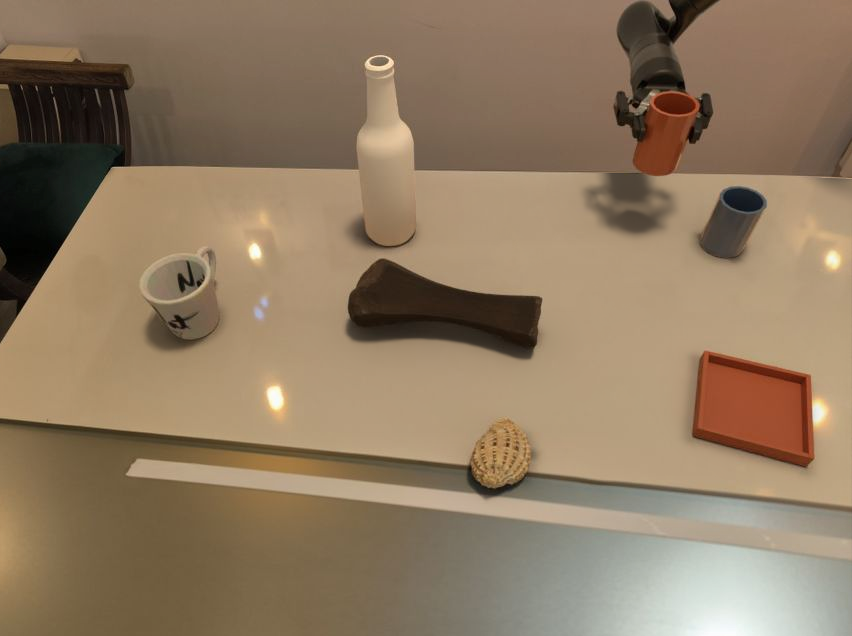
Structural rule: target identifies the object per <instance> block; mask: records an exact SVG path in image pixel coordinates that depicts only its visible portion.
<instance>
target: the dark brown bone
mask: <svg viewBox="0 0 852 636" xmlns="http://www.w3.org/2000/svg"><path fill="white" fill-rule="evenodd" d="M542 303H543V297H541V296H539V295H521V294H520V295H519V294H517V295H516V294H495V293H485V292H478V291H472V290H466V289H461V288H458V287H453V286H449V285H445V284H443V283H440V282H437V281H434V280H432V279H429V278H427V277H424V276H423V275H420V274H418V273H416V272H414V271H412V270H410V269H408V268H406V267H404V265H403V266H402V265H401V264H399V263H397V262H395V261H392V260H390V259H388V258H379V259H377V260H375V261H374V262H373V263H372V264H371V265H369V267H368V268H367V269H366V270H365V271H364V272H363V273H362V274H361V276H360V277H359V279H358V280H357V283H356V286H355V288H354V289H352V290H351V291H350V293H349V296H348V302H347V313H348V316H349V320H351V322H352V323H353V324H355V326H357V327H362V328H371V327H376V326H382V325H389V324H397V323H406V322H407V323H408V322H431V323H432V322H434V323H443V324H450V325H455V326H460V327H465V328H470V329H473V330H477V331H481V332H483V333H487V334H490V335H492V336H496V337H498V338H500V339H503V340H506V341H508V342H511V343H513V344H515V345H518V346H521V347H523V348H527V349H533V348H535V347H536V346H537V344H538V335H539V321H540V319H541V315H542Z"/></svg>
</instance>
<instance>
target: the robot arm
mask: <svg viewBox="0 0 852 636" xmlns="http://www.w3.org/2000/svg"><path fill="white" fill-rule="evenodd" d="M667 1H668V5H669V6H670V9H671V10H672V13H673V15H672V16H671V17H670V18H668V17H667V16H666V15H665V14H664V13H663V12H662V11H661V10H660V9H659V8H658V7H657V5H655V4H654V3H653V2H651V1H649V0H636V1H633V2H632V3H630V4H629V5H628V6H627V7H625V8H624V10H623V11H622V13H621V14H620V16H619V18H618V20H617V23H616V31H615V32H616V38H617V41H618V43H619V44H620V47H621V48H622V50H623V51H624V53H625V55H626V57H627V58H628V62H629V68H630V72H629V78H630V79H629V83H630V84H629V85H630V86H631V93H632V95H626V92H625V91H624V90H618V91H617V92H616V94H615V95H616V96H615V99H614V102H613V107H612V109H613V111H614V116H615V120H616V124H617V126H618V127H625V126H626V125H628V126H629V128H630V131H631V137H632V138H633V139H636V142H637V143H638V142H643V139H644V135H645V132H646V126H645V116H646V113H647V110H648V106H649V103H650V99H651V98H652V97H653V96H654V95H655V94H658V93H661V92H667V91H674V92H682V93H685V94H688V95H690V93H689V92H688V91H686V81H685V78H684V74H683V71H682V66H681V63H680V59H679V57H678V55H677V53H676V51H675V47H674V45H675V44H676V43H677V41H678V40H679V39H680V37H682V35H683V34H684V33H685V32H686V31H687V30H688V29H689V28H690V27H691V25H693V24H694V22H696V20H697V19H698V18H700V16H701V15H703V14H704V13H706V12H707V11H708V10H710V9H711V8H712V7H714V6H715V5H717V4H718V3H719V2H720V1H721V0H667ZM694 98H695V99H696V100H697V101H698V103H699V111H698V114H697V116H696V119H695V122H694V124H693V127H692V130H691V132H690V135H689V138H688V140H687V141H688V143H689V145H696V143H697V142H699V141H700V139H701V137H702V133H703V131H704V130H706V129H708V128H709V125H710V121H711V119H712V117H713V115H714V108H713V103H712V97H711V94H710V93H708V92H704V93H702V94H701V96H700V97H694ZM630 105H631V107H632V108H634V109H635V110H634V111H630Z"/></svg>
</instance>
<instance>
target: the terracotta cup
mask: <svg viewBox="0 0 852 636" xmlns="http://www.w3.org/2000/svg"><path fill="white" fill-rule="evenodd" d="M688 94H689V93H688ZM688 94H685V93H682V92H674V91H667V92H661V93H658V94H655V95H654V96H653V97H652V98H651V99H650V103H649V106H648V110H647V113H646V116H645V126H646V132H645V135H644V139H643V142H637V143H636V147H635V150H634V153H633V158H632V164H633V166H634V167H635V169H636V170H637V171H639V172H641V173H642V174H645V175H648V176H653V177H665V176H669V175H671V174H673V173H674V172H675V171H677V168H678V166H679V164H680V162H681V159H682V157H683V153H684V151H685V148H686V146H687V144H688V141H689V140H688V138H689V135H690V132H691V130H692V127H693V124H694V122H695V119H696V116H697V114H698V111H699V103H698V101H697V100H696V99H695V98H696V97H693V96H692V95H691V94H689V95H688Z"/></svg>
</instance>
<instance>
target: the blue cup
mask: <svg viewBox="0 0 852 636" xmlns="http://www.w3.org/2000/svg"><path fill="white" fill-rule="evenodd" d="M767 206H768V201H767V199H766V198H765V195H763V194H762V193H760V192H759V191H758V190H756V189H753V188H750V187H747V186H741V185H735V186H729V187H726V188H724V189H722V191H720V192H719V194H718V196H717V199H716V201H715V204H714V205H713V208H712V210H711V212H710V215H709V216H708V219H707V221H706V223H705V225H704V227H703V229H702V231H701V234H700V237H699V245H700V247H701V248H702V249H703V250H704V251H705V252H707V253H708V254H710V255H711V256H714V257H717V258H720V259H721V258H723V259H732V258H736V257H738V256H740V255H741V254H742V253H743V251H744V249H745V248H746V246H747V244H748V242H749V240H750V239H751V236H752V235H753V233H754V231H755V229H756V227H757V225H758V223H759V222H760V220H761V218H762V217H763V215H764V212H765V211H766V209H767Z"/></svg>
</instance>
